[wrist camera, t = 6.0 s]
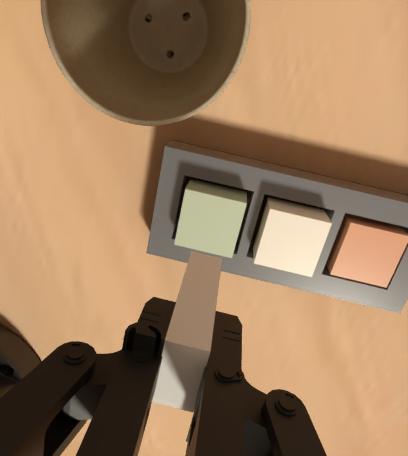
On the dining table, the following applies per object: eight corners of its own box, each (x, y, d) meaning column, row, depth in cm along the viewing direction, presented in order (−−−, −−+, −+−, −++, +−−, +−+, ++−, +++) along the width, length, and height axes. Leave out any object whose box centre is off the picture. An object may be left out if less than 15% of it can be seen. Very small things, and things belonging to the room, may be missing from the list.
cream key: (253, 247, 28) (253, 263, 26) (267, 196, 26) (270, 208, 24) (306, 260, 28) (311, 277, 26) (324, 210, 26) (332, 223, 24)
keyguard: (153, 239, 30) (146, 253, 28) (171, 139, 27) (164, 146, 25) (388, 295, 30) (400, 313, 28) (433, 201, 27) (450, 213, 25)
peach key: (323, 258, 29) (330, 274, 27) (341, 209, 27) (350, 222, 25) (375, 270, 29) (386, 287, 27) (396, 222, 27) (410, 236, 25)
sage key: (179, 230, 28) (174, 244, 26) (190, 178, 27) (185, 188, 24) (233, 242, 28) (231, 258, 26) (246, 191, 26) (247, 203, 24)
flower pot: (123, 127, 27) (84, 145, 21) (72, -34, 24) (5, -74, 17) (262, 91, 25) (269, 99, 19) (230, -89, 22) (223, -156, 15)
